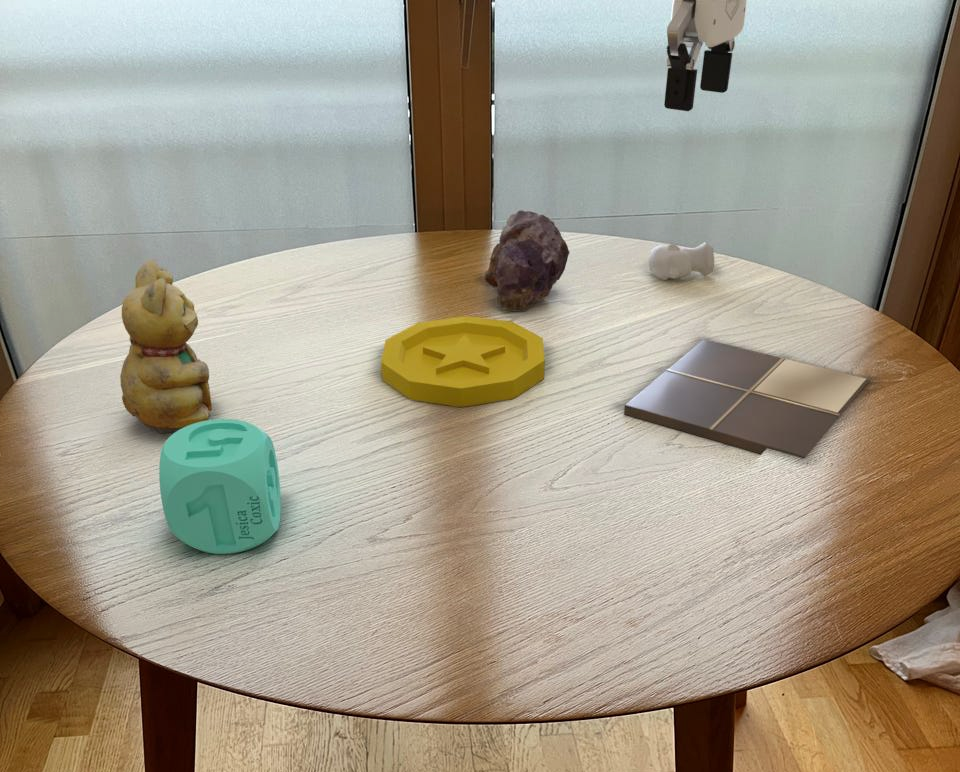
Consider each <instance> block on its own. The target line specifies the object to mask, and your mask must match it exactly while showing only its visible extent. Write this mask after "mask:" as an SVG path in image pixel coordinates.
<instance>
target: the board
mask: <svg viewBox="0 0 960 772" xmlns="http://www.w3.org/2000/svg"><path fill="white" fill-rule="evenodd" d="M870 380H871V379H870V378H865V377H861V376H857V375H853V374H849V373H846V372H842V371H836V370H832V369H829V368H826V367H820V366H817V365H812V364H807V363H804V362H800V361H797V360H796V361H795V360H792V359H788V358H786V357H783V356H782V357H779V356H775V355H771V354H768V353H763V352H760V351H759V352H758V351H755V350H750V349H746V348H743V347H739V346H734V345H731V344H726V343H721V342H718V341H714V340H709V339H705V338H703V339H701V341H699V343H697V344H696V345H694V347H692V348H691V349H690V350H689V351H688V352H686V353H685V354H683V356H682V357H680V359H678V360H677V361H676V362H674V363H673V364H672V365H671V366H669V367H668V368H666V369H665V371H664V372H662V374H660V375H659V376H658V377H657V378H655V379H654V380H653V381H652V382H650V383H649V384H648V385H647V386H646V387H644V388H643V389H642V390H641V391H639V392H638V394H636V395H635V396H634V397H632V398H631V399H630V400H629V401H628V402H627V403H626V404H624V408H623V409H624V410H623V414H624V415H626V416H629V417H633V418H636V419H639V420H643V421H645V422H646V421H647V422H649V423H654V424H657V425H660V426H664V427H667V428H670V429H675V430H678V431H682V432H684V433H688V434H691V435H694V436H699V437H701V438H705V439H708V440H712V441H715V442H718V443H722V444H725V445H729V446H733V447H736V448H740V449H743V450H746V451H750V452H753V453H756V454H761V455H763V453H764V452H765V451H766V450H767V449H769V450H772V451H777V452H779V453H783V454H787V455H789V456H794V457H797V458H801V459H806V457H807V456H808V455H809V454H810V453H811V452H812V450H813V449H814V448H815V446H817V444H818V443H819V442H820V441H821V440H822V438H823V437H824V436H825V435H826V434H827V432H828V431H829V430H830V429H831V428H832V427H833V426H834V424H835V423H836V422H837V421H838V420H839V418H841V416H842V415H843V413H844V412H845V411H846V410H848V407H850V405H851V404H852V403H853V402H854V400H855V399H856V398H857V397H858V396H859V394H860V393H862V391H863V390H864V389H865V388H866V386H867V385H868V384H869V383H870Z"/></svg>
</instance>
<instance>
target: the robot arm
mask: <svg viewBox="0 0 960 772" xmlns="http://www.w3.org/2000/svg"><path fill="white" fill-rule="evenodd" d="M746 10H747V0H672V6H671V18H670V22H669V23H668V25H667V30H666V37H667V46H666V54H667V60H666V68H667V74H666V82H665V83H666V85H665V93H664V105H663V106H664V108H665V109H669V110H674V111H683V112H691V111H692V110H693V108H694V103H695V93H696V84H697V75H698V68H697V69H696V68H695V66H696V63H697V60H698V58H699V55H700V52H701V49H702V47H703V44H704V45H705V46H706V47H707V48H708V49H705V50H704V51H703V58H702V67H701V76H700V86H699V88H700V90H701V91H704V92H705V91H706V92H711V93H719V94H720V93H721V94H724V93H726V92H728V88H729V82H730V75H731V69H732V68H731V67H732V61H733V51H734V50H735V45H736V41H735V40H736V39H735V38H736V37H738V35H739V34H741V32H742V31H743V29H744V25H745V19H746V18H745V17H746ZM688 48H689V49H690V51H688Z"/></svg>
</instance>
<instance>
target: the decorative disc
mask: <svg viewBox="0 0 960 772" xmlns="http://www.w3.org/2000/svg"><path fill="white" fill-rule="evenodd" d="M380 364H381V365H380V367H381V378H382V382H385V383H386V384H387V385H388V386H390V387H392V388H393V389H395V390H396V391H397V392H399V393H400V394H401V395H403V396H405V397H406V398H407V399H409V400H410V401H416V402H422V403H423V402H424V403H431V404H437V405H444V406H451V407H459V408H465V407H470V406H471V407H472V406H478V405H484V404H490V403H495V402H501V401H502V402H503V401H509V400H514V399H515V398H517V397H518V396H520V395H522V394H523V393H525V392H527V390H529V389H532V387H533V386H536V384H538V383H540V382H541V381H543V380H544V379H545V347H544V338H543V337H542V336H540V335H538V334H536V333H534V332H532V331H530V330H529V329H527V328H525V327H523V326H521V325H519V324H518V323H516V322H514V321H511V320H510V321H509V320H501V319H494V318H487V317H485V318H484V317H477V316H469V315H462V316H456V317H449V318H442V319H435V320H428V321H427V320H426V321H420V322H416V323H415V324H413V325H411V326H409V327H408V328H405V329H403V330H401V331H399V332H398V333H395V334H394V335H392V336H390V337H388V338H386V339H385V341H384V346H383V351H382V355H381V360H380Z"/></svg>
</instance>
